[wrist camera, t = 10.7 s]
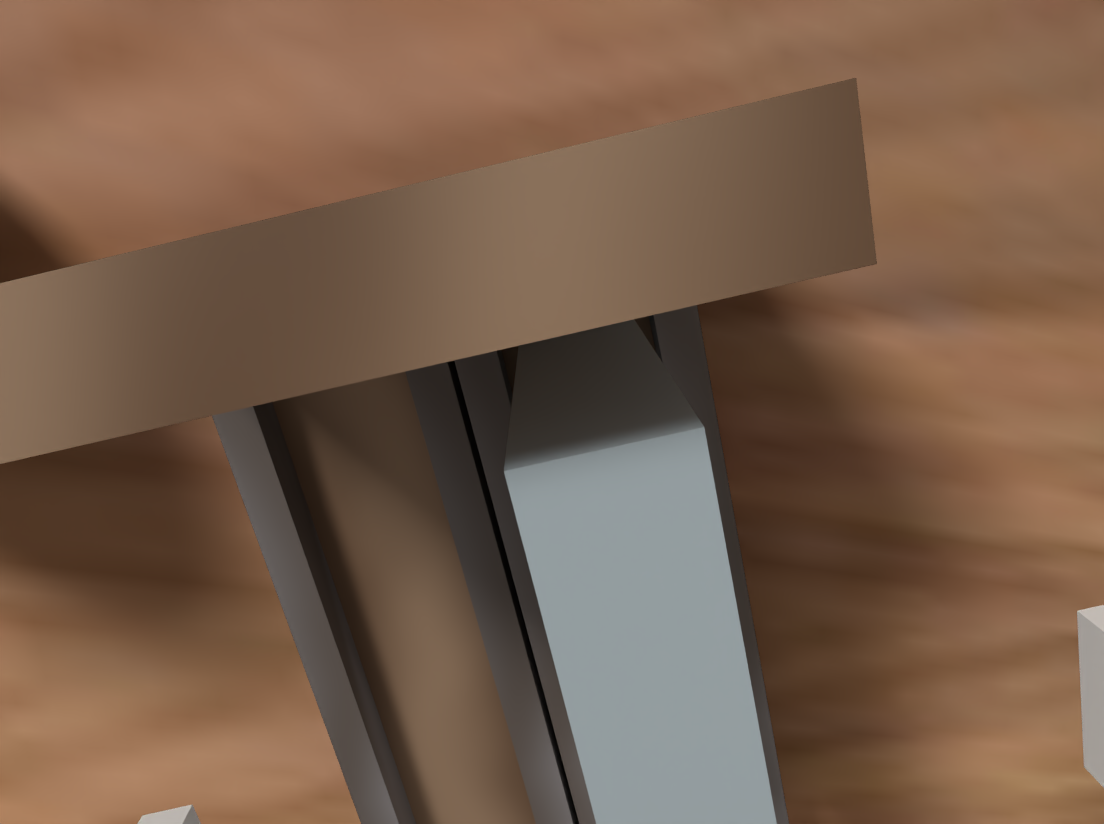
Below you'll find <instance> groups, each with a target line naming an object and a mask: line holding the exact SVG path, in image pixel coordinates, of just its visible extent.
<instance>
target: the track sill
mask: <svg viewBox="0 0 1104 824" xmlns="http://www.w3.org/2000/svg"><path fill="white" fill-rule="evenodd" d="M874 264H877V261H876V252H875V243H874V234H873V225H872V216H871V207H870V198H869V189H868V180H867V171H866V162H865V153H864V144H863V135H862V126H861V117H860V108H859V99H858V90H857V81H856V78H853V79H849V80H845V81H841V82H837V83H832V84H828V85H824V86H820V87H816V88H812V89H807V90H803V91H799V92H795V93H791V94H787V95H782V96H778V97H774V98H770V99H766V100H762V101H757V102H753V103H749V104H745V105H741V106H737V107H732V108H728V109H724V110H720V111H716V112H712V113H707V114H703V115H699V116H695V117H691V118H687V119H682V120H678V121H674V122H670V123H666V124H662V125H657V126H653V127H649V128H645V129H641V130H637V131H632V132H628V133H624V134H620V135H616V136H612V137H607V138H603V139H599V140H595V141H591V142H587V143H582V144H578V145H574V146H570V147H566V148H562V149H557V150H553V151H549V152H545V153H541V154H537V155H532V156H528V157H524V158H520V159H516V160H512V161H507V162H503V163H499V164H495V165H491V166H487V167H482V168H478V169H474V170H470V171H466V172H462V173H457V174H453V175H449V176H445V177H441V178H437V179H432V180H428V181H424V182H420V183H416V184H412V185H407V186H403V187H399V188H395V189H391V190H387V191H382V192H378V193H374V194H370V195H366V196H362V197H357V198H353V199H349V200H345V201H341V202H337V203H332V204H328V205H324V206H320V207H316V208H312V209H307V210H303V211H299V212H295V213H291V214H287V215H282V216H278V217H274V218H270V219H266V220H262V221H257V222H253V223H249V224H245V225H241V226H237V227H232V228H228V229H224V230H220V231H216V232H212V233H207V234H203V235H199V236H195V237H191V238H187V239H182V240H178V241H174V242H170V243H166V244H162V245H157V246H153V247H149V248H145V249H141V250H137V251H132V252H128V253H124V254H120V255H116V256H112V257H107V258H103V259H99V260H95V261H91V262H87V263H82V264H78V265H74V266H70V267H66V268H62V269H57V270H53V271H49V272H45V273H41V274H37V275H32V276H28V277H24V278H20V279H16V280H12V281H7V282H3V283H0V464H2V463H7V462H11V461H16V460H20V459H24V458H29V457H33V456H37V455H42V454H46V453H51V452H55V451H59V450H64V449H68V448H72V447H77V446H81V445H86V444H90V443H94V442H99V441H103V440H108V439H112V438H116V437H121V436H125V435H129V434H134V433H138V432H143V431H147V430H151V429H156V428H160V427H164V426H169V425H173V424H178V423H182V422H186V421H191V420H195V419H199V418H204V417H208V416H212V417H213V420H214V423H215V425H216V428H217V431H218V434H219V436H220V439H221V442H222V444H223V447H224V450H225V453H226V455H227V458H228V461H229V464H230V466H231V469H232V472H233V475H234V477H235V480H236V483H237V485H238V488H239V491H240V494H241V496H242V499H243V502H244V505H245V507H246V510H247V513H248V516H249V518H250V521H251V524H252V526H253V529H254V532H255V535H256V537H257V540H258V543H259V546H260V548H261V551H262V554H263V556H264V559H265V562H266V565H267V567H268V570H269V573H270V576H271V578H272V581H273V584H274V587H275V589H276V592H277V595H278V597H279V600H280V603H281V606H282V608H283V611H284V614H285V617H286V619H287V622H288V625H289V628H290V630H291V633H292V636H293V638H294V641H295V644H296V647H297V649H298V652H299V655H300V658H301V660H302V663H303V666H304V669H305V671H306V674H307V677H308V679H309V682H310V685H311V688H312V690H313V693H314V696H315V699H316V701H317V704H318V707H319V709H320V712H321V715H322V718H323V720H324V723H325V726H326V729H327V731H328V734H329V737H330V740H331V742H332V745H333V748H334V750H335V753H336V756H337V759H338V761H339V764H340V767H341V770H342V772H343V775H344V778H345V781H346V783H347V786H348V789H349V791H350V794H351V797H352V800H353V802H354V805H355V808H356V811H357V813H358V816H359V819H360V822H361V824H596V821H595V817H594V813H593V810H592V806H591V802H590V798H589V794H588V790H587V787H586V783H585V779H584V775H583V771H582V768H581V764H580V760H579V756H578V752H577V748H576V745H575V741H574V737H573V733H572V729H571V726H570V722H569V718H568V714H567V710H566V707H565V703H564V699H563V695H562V691H561V687H560V684H559V680H558V676H557V672H556V668H555V665H554V661H553V657H552V653H551V649H550V646H549V642H548V638H547V634H546V630H545V626H544V623H543V619H542V615H541V611H540V607H539V604H538V600H537V596H536V592H535V588H534V584H533V581H532V577H531V573H530V569H529V565H528V562H527V558H526V554H525V550H524V546H523V543H522V539H521V535H520V531H519V527H518V523H517V520H516V516H515V512H514V508H513V504H512V501H511V497H510V493H509V489H508V485H507V482H506V478H505V474H504V465H505V457H506V448H507V440H508V432H509V423H510V415H511V406H512V398H513V389H514V381H515V373H516V364H517V356H518V347H519V345H524V344H528V343H532V342H537V341H541V340H546V339H550V338H554V337H559V336H563V335H567V334H572V333H576V332H581V331H585V330H589V329H594V328H598V327H602V326H607V325H611V324H616V323H620V322H624V321H629V320H633V319H634V320H635V321H636V323H637V324H638V326H639V327H640V329H641V330H642V332H643V334H644V335H645V337H646V338H647V340H648V341H649V343H650V344H651V346H652V347H653V349H654V350H655V352H656V354H657V355H658V357H659V358H660V360H661V361H662V363H663V364H664V366H665V367H666V369H667V370H668V372H669V374H670V375H671V377H672V378H673V380H674V381H675V383H676V384H677V386H678V387H679V389H680V390H681V392H682V394H683V395H684V397H685V398H686V400H687V401H688V403H689V404H690V406H691V407H692V409H693V410H694V412H695V414H696V415H697V417H698V418H699V420H700V421H701V423H702V424H703V426H704V428H705V434H706V439H707V445H708V450H709V456H710V461H711V467H712V472H713V478H714V483H715V489H716V494H717V499H718V505H719V510H720V516H721V521H722V527H723V532H724V538H725V543H726V549H727V554H728V560H729V565H730V571H731V576H732V582H733V587H734V593H735V598H736V603H737V609H738V614H739V620H740V625H741V631H742V636H743V642H744V647H745V653H746V658H747V664H748V669H749V675H750V680H751V686H752V691H753V696H754V702H755V707H756V713H757V718H758V724H759V729H760V735H761V740H762V746H763V751H764V757H765V762H766V768H767V773H768V779H769V784H770V790H771V795H772V800H773V806H774V811H775V817H776V822H777V824H789V821H788V815H787V809H786V804H785V798H784V793H783V787H782V781H781V776H780V770H779V764H778V759H777V753H776V748H775V742H774V736H773V731H772V725H771V719H770V714H769V708H768V703H767V697H766V691H765V686H764V680H763V674H762V669H761V663H760V658H759V652H758V646H757V641H756V635H755V629H754V624H753V618H752V613H751V607H750V601H749V596H748V590H747V584H746V579H745V573H744V568H743V562H742V556H741V551H740V545H739V539H738V534H737V528H736V523H735V517H734V511H733V506H732V500H731V494H730V489H729V483H728V478H727V472H726V466H725V461H724V455H723V449H722V444H721V438H720V433H719V427H718V421H717V416H716V410H715V404H714V399H713V393H712V388H711V382H710V376H709V371H708V365H707V359H706V354H705V348H704V342H703V337H702V331H701V326H700V320H699V314H698V309H697V305H699V304H703V303H708V302H712V301H716V300H721V299H725V298H730V297H734V296H738V295H743V294H747V293H751V292H756V291H760V290H765V289H769V288H773V287H778V286H782V285H786V284H791V283H795V282H800V281H804V280H808V279H813V278H817V277H821V276H826V275H830V274H835V273H839V272H843V271H848V270H852V269H857V268H861V267H865V266H870V265H874Z"/></svg>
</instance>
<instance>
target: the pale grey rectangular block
mask: <svg viewBox="0 0 1104 824" xmlns="http://www.w3.org/2000/svg"><path fill="white" fill-rule="evenodd" d="M504 474H505V478H506V482H507V485H508V489H509V493H510V497H511V501H512V504H513V508H514V512H515V516H516V520H517V523H518V527H519V531H520V535H521V539H522V543H523V546H524V550H525V554H526V558H527V562H528V565H529V569H530V573H531V577H532V581H533V584H534V588H535V592H536V596H537V600H538V604H539V607H540V611H541V615H542V619H543V623H544V626H545V630H546V634H547V638H548V642H549V646H550V649H551V653H552V657H553V661H554V665H555V668H556V672H557V676H558V680H559V684H560V687H561V691H562V695H563V699H564V703H565V707H566V710H567V714H568V718H569V722H570V726H571V729H572V733H573V737H574V741H575V745H576V748H577V752H578V756H579V760H580V764H581V768H582V771H583V775H584V779H585V783H586V787H587V790H588V794H589V798H590V802H591V806H592V810H593V813H594V817H595V821H596V824H777V822H776V817H775V811H774V806H773V800H772V795H771V790H770V784H769V779H768V773H767V768H766V762H765V757H764V751H763V746H762V740H761V735H760V729H759V724H758V718H757V713H756V707H755V702H754V696H753V691H752V686H751V680H750V675H749V669H748V664H747V658H746V653H745V647H744V642H743V636H742V631H741V625H740V620H739V614H738V609H737V603H736V598H735V593H734V587H733V582H732V576H731V571H730V565H729V560H728V554H727V549H726V543H725V538H724V532H723V527H722V521H721V516H720V510H719V505H718V499H717V494H716V489H715V483H714V478H713V472H712V467H711V461H710V456H709V450H708V445H707V439H706V434H705V428H704V426H703V424H702V423H701V421H700V420H699V418H698V417H697V415H696V414H695V412H694V410H693V409H692V407H691V406H690V404H689V403H688V401H687V400H686V398H685V397H684V395H683V394H682V392H681V390H680V389H679V387H678V386H677V384H676V383H675V381H674V380H673V378H672V377H671V375H670V374H669V372H668V370H667V369H666V367H665V366H664V364H663V363H662V361H661V360H660V358H659V357H658V355H657V354H656V352H655V350H654V349H653V347H652V346H651V344H650V343H649V341H648V340H647V338H646V337H645V335H644V334H643V332H642V330H641V329H640V327H639V326H638V324H637V323H636V321H635V320H634V319H633V320H629V321H624V322H620V323H616V324H611V325H607V326H602V327H598V328H594V329H589V330H585V331H581V332H576V333H572V334H567V335H563V336H559V337H554V338H550V339H546V340H541V341H537V342H532V343H528V344H524V345H519V347H518V356H517V364H516V373H515V381H514V389H513V398H512V406H511V415H510V423H509V432H508V440H507V448H506V457H505V465H504Z"/></svg>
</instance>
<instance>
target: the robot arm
mask: <svg viewBox="0 0 1104 824" xmlns="http://www.w3.org/2000/svg"><path fill="white" fill-rule="evenodd" d="M1077 617H1078V640H1079V662H1080V685H1081V708H1082V731H1083V754H1084V767H1085V768H1086V770H1087V771H1088V772H1089V773H1090V774H1091V775H1092V776H1093V777H1094V778H1095V779H1096V780H1097V781H1098V782H1099V783H1100V784H1101V785H1102V786H1103V787H1104V605H1102V606H1097V607H1093V608H1088V609H1083V610H1079V611H1077ZM138 824H201V823H200V821H199V819H198V816H197V814H196V812H195V809H194V807H193V805H188V806H184V807H179V808H174V809H170V810H165V811H161V812H156V813H152V814H147V815H142V817H141V819H140V820H139V822H138Z"/></svg>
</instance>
